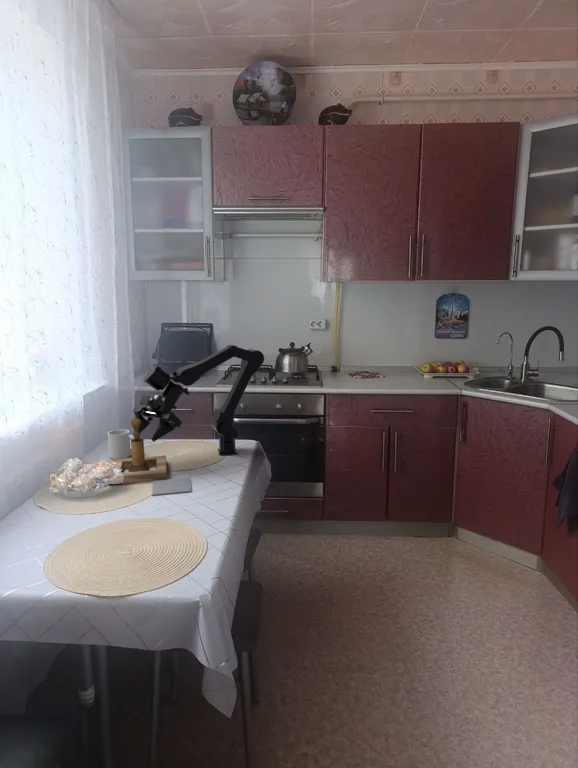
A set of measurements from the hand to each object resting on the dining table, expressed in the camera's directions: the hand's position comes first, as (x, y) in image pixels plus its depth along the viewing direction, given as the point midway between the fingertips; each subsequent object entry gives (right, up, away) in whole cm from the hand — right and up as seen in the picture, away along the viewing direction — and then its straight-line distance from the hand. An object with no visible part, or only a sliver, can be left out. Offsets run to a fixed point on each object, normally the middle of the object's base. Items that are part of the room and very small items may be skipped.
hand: (143, 438), depth 167 cm
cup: (-11, -8, +17) cm, 22 cm away
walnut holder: (-1, -11, 0) cm, 11 cm away
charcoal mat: (+12, -13, -12) cm, 22 cm away
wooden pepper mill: (-1, -11, 0) cm, 11 cm away
